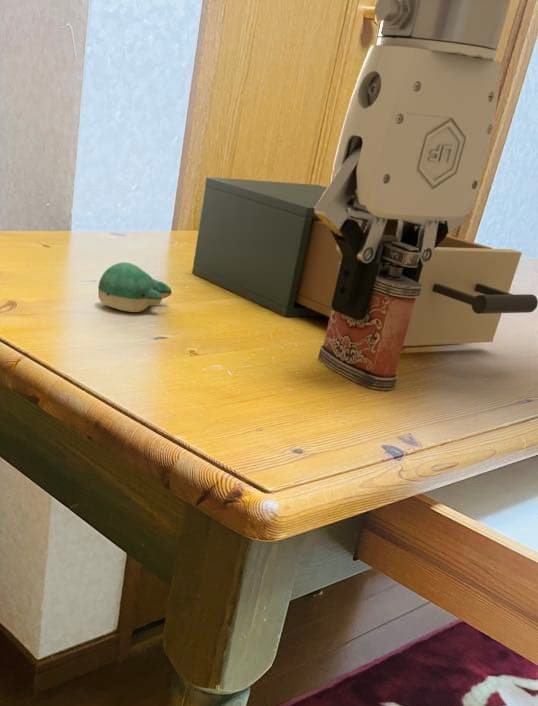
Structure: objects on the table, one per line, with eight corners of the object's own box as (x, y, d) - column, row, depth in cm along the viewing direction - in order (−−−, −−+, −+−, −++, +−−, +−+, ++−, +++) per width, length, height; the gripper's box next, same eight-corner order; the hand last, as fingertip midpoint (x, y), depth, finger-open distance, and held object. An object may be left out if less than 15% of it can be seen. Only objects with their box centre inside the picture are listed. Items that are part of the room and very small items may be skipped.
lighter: (308, 355, 68) (336, 224, 63) (343, 354, 69) (374, 226, 64) (367, 390, 61) (404, 248, 56) (405, 389, 62) (444, 250, 58)
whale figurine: (81, 301, 74) (85, 257, 72) (138, 294, 79) (143, 252, 77) (129, 319, 71) (134, 273, 69) (185, 310, 76) (191, 267, 74)
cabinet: (399, 314, 85) (427, 213, 80) (285, 317, 78) (307, 207, 73) (298, 273, 97) (317, 184, 92) (191, 273, 90) (205, 176, 86)
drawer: (545, 363, 71) (580, 268, 67) (433, 370, 65) (464, 266, 61) (374, 296, 87) (394, 216, 83) (270, 297, 80) (287, 211, 77)
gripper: (385, 10, 47) (314, 333, 56) (573, 46, 55) (484, 325, 64) (302, 9, 53) (250, 302, 62) (483, 42, 60) (413, 299, 69)
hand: (370, 311), depth 63 cm, fingers closed on lighter, 3 cm apart
